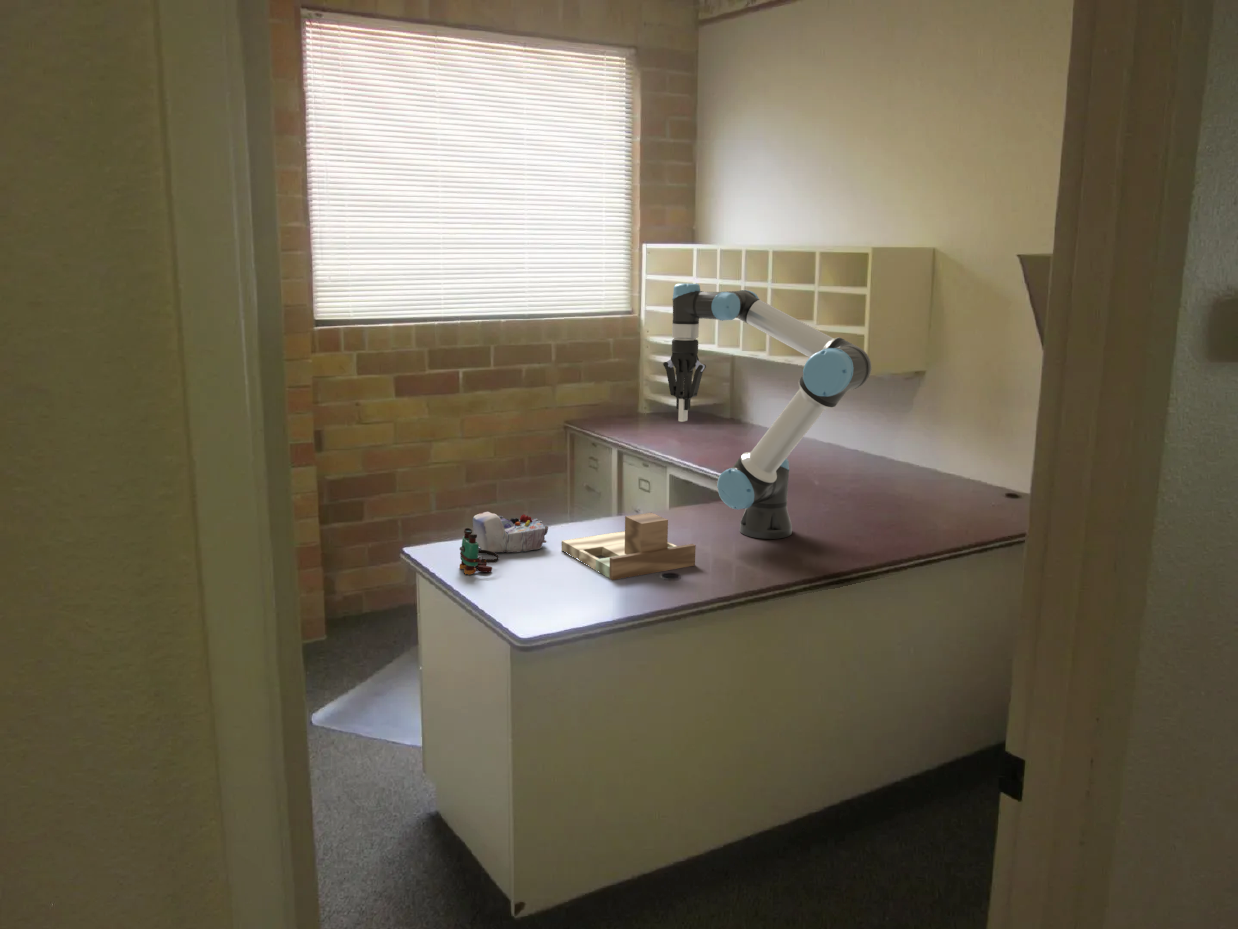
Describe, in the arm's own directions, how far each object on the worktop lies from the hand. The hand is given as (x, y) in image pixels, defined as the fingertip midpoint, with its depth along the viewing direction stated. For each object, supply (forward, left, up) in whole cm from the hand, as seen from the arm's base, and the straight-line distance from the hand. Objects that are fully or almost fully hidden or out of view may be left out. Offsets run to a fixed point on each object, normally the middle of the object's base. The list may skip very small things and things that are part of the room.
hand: (682, 420), depth 289 cm
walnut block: (-10, +36, -29) cm, 47 cm away
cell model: (+28, +44, -33) cm, 61 cm away
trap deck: (-3, +33, -32) cm, 46 cm away
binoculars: (+23, +63, -33) cm, 75 cm away
